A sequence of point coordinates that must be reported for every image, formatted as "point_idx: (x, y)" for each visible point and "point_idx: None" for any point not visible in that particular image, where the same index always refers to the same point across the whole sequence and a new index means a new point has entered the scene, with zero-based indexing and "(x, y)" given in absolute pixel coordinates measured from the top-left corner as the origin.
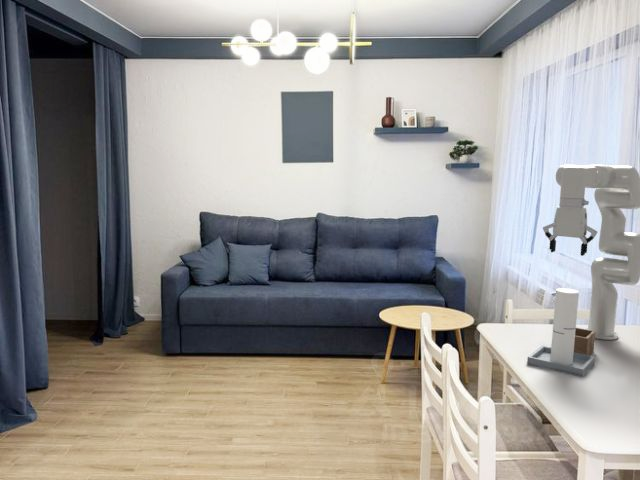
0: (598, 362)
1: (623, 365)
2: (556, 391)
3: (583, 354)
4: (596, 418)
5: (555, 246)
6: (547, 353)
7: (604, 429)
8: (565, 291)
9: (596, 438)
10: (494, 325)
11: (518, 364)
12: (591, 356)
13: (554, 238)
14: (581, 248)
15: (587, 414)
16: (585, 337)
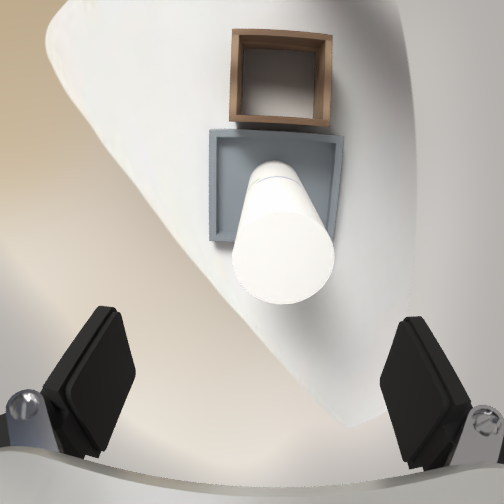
0: (345, 120)
1: (394, 110)
2: (297, 333)
3: (316, 136)
4: (356, 379)
5: (101, 346)
6: (231, 147)
7: (363, 395)
8: (279, 283)
9: (354, 414)
10: (64, 18)
11: (198, 248)
12: (335, 140)
13: (61, 437)
14: (398, 430)
15: (346, 375)
16: (304, 43)
